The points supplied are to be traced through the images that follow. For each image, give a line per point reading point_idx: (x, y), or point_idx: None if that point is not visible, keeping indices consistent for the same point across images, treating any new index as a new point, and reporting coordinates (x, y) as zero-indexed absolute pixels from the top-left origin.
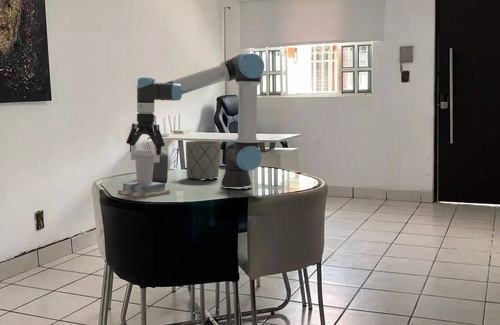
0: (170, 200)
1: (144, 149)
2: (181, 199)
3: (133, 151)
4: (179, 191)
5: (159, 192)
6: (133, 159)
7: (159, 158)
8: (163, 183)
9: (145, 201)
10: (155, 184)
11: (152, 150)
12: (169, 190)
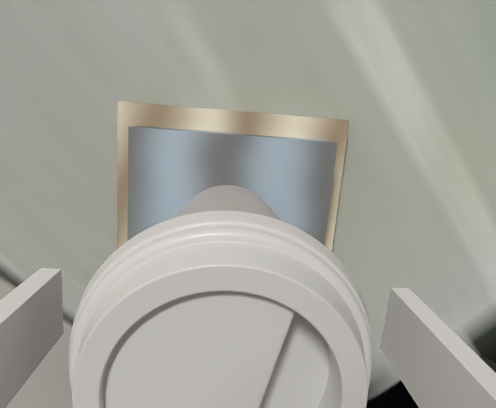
0: (458, 299)
1: (136, 321)
2: (492, 243)
3: (4, 382)
4: (350, 4)
5: (335, 216)
6: (60, 316)
7: (430, 309)
8: (327, 148)
9: (374, 387)
10: (311, 223)
11: (367, 392)
12: (348, 122)
